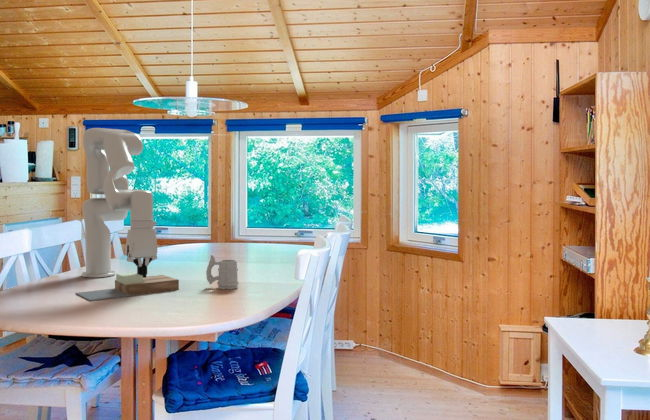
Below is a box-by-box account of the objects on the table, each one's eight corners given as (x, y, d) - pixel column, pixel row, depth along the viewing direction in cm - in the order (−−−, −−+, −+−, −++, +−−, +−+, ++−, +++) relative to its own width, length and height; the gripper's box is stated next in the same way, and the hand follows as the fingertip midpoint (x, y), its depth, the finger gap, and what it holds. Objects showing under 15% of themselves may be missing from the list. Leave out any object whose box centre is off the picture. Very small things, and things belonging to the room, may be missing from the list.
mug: (237, 289, 202) (237, 256, 201) (204, 289, 201) (204, 256, 201) (240, 285, 209) (240, 253, 209) (208, 285, 209) (208, 253, 208)
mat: (75, 294, 191) (75, 292, 191) (116, 289, 201) (116, 288, 200) (90, 301, 180) (90, 300, 180) (133, 295, 189) (133, 294, 189)
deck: (115, 289, 199) (114, 280, 199) (163, 284, 211) (162, 274, 211) (129, 295, 189) (129, 285, 189) (178, 289, 201) (178, 279, 201)
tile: (116, 280, 197) (116, 273, 197) (133, 279, 201) (133, 272, 201) (125, 284, 190) (125, 277, 190) (142, 282, 194) (142, 275, 194)
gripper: (157, 223, 205) (157, 273, 206) (116, 225, 196) (117, 278, 196) (166, 225, 200) (166, 276, 201) (125, 227, 190) (125, 281, 191)
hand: (142, 277), depth 199 cm, fingers closed
